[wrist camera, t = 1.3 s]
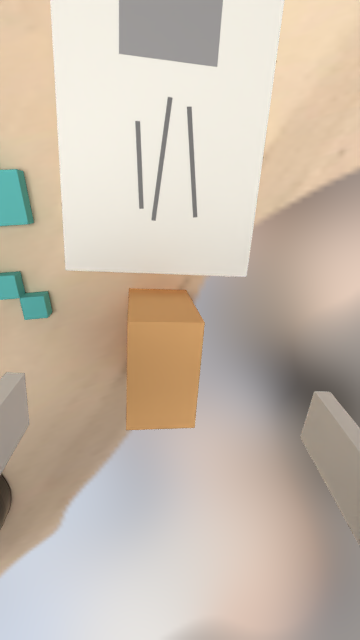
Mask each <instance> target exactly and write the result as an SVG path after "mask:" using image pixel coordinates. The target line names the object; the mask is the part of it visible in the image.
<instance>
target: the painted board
mask: <svg viewBox="0 0 360 640" xmlns="http://www.w3.org/2000/svg"><path fill="white" fill-rule="evenodd" d="M50 2H51V20H52V38H53V55H54V73H55V91H56V109H57V127H58V144H59V162H60V180H61V198H62V215H63V233H64V251H65V269H66V270H71V271H98V272H126V273H153V274H181V275H208V276H236V277H246V276H247V269H248V262H249V255H250V248H251V241H252V233H253V226H254V219H255V211H256V204H257V197H258V189H259V182H260V175H261V167H262V160H263V153H264V146H265V138H266V131H267V124H268V116H269V109H270V102H271V94H272V87H273V80H274V72H275V65H276V58H277V50H278V43H279V36H280V28H281V21H282V14H283V7H284V0H50Z"/></svg>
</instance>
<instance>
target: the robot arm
mask: <svg viewBox="0 0 360 640" xmlns="http://www.w3.org/2000/svg"><path fill="white" fill-rule="evenodd" d="M28 426H29V414H28V404H27V393H26V382H25V373H11V372H6V373H5V374H4V376H3V377H2V378H1V379H0V529H1V528H2V526H3V523H4V521H5V518H6V516H7V514H8V511H9V508H10V504H11V494H10V490H9V487H8V484H7V483H6V481H5V479H4V478H3V476H2V475H1V473H2V471H3V470H4V468H5V466H6V464H7V462H8V461H9V459H10V457H11V455H12V454H13V452H14V450H15V448H16V447H17V445H18V443H19V441H20V440H21V438H22V436H23V434H24V433H25V431H26V429H27V427H28ZM300 437H301V439H302V442H303V443H304V445H305V447H306V449H307V451H308V452H309V454H310V456H311V458H312V460H313V461H314V463H315V465H316V467H317V469H318V471H319V473H320V474H321V476H322V478H323V480H324V482H325V484H326V485H327V487H328V489H329V491H330V493H331V494H332V496H333V498H334V500H335V502H336V504H337V505H338V507H339V509H340V511H341V513H342V515H343V516H344V518H345V520H346V522H347V524H348V526H349V527H350V529H351V531H352V533H353V535H354V537H355V538H356V540H357V542H358V544H359V546H360V428H359V427H358V426H357V424H356V423H355V422H354V421H353V420H352V419H351V417H350V416H349V415H348V414H347V412H346V411H345V410H344V409H343V407H342V406H341V405H340V404H339V403H338V401H337V400H336V399H335V397H334V396H333V395H332V394H331V393H330V392H321V391H314V394H313V397H312V401H311V404H310V407H309V410H308V414H307V417H306V420H305V423H304V427H303V430H302V433H301V436H300Z"/></svg>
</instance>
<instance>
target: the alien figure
mask: <svg viewBox="0 0 360 640" xmlns="http://www.w3.org/2000/svg"><path fill="white" fill-rule="evenodd" d="M31 223H34V221H33V216H32V211H31V206H30V201H29V196H28V192H27V187H26V182H25V177H24V172H23V171H21V170H17V169H12V170H0V226H7V225H23V224H31ZM15 298H20V302H21V306H22V311H23V315H24V319H25V320H28V319H38V318H48V317H49V316H50V314H51V313H52V308H51V303H50V298H49V293H48V291H45V292H33V293H25V290H24V285H23V281H22V277H21V273H20V271H19V272H6V273H0V300H3V299H15Z"/></svg>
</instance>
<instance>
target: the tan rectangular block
mask: <svg viewBox="0 0 360 640" xmlns="http://www.w3.org/2000/svg"><path fill="white" fill-rule="evenodd" d="M204 325H205V323H204V321H203V319H202V317H201V316H200V314H199V312H198V310H197V309H196V307H195V305H194V303H193V302H192V300H191V298H190V297H189V295H188V293H187V291H186V290H165V289H131V288H129V302H128V319H127V408H126V430H145V429H173V428H194V427H195V418H196V407H197V397H198V386H199V376H200V365H201V356H202V345H203V335H204Z"/></svg>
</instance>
